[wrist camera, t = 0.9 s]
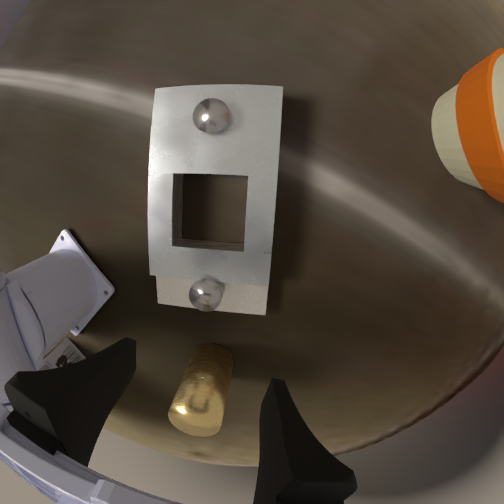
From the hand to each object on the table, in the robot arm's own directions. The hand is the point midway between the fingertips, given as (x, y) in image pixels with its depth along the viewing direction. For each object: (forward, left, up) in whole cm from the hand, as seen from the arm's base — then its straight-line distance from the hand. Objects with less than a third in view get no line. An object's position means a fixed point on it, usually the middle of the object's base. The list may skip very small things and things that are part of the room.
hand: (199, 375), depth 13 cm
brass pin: (-6, -4, -10) cm, 13 cm away
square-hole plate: (+4, +6, -10) cm, 13 cm away
